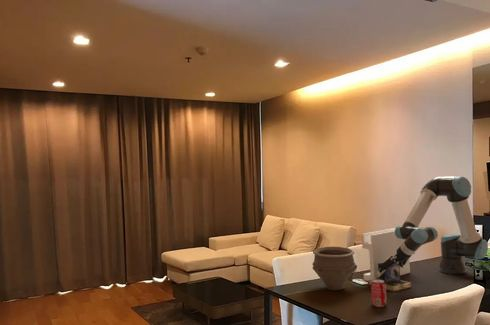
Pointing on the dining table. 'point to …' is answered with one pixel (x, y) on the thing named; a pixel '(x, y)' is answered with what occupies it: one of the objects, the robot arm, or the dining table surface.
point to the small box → (390, 273)
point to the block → (382, 250)
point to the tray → (395, 285)
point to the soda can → (378, 293)
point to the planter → (334, 266)
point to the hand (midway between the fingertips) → (385, 273)
